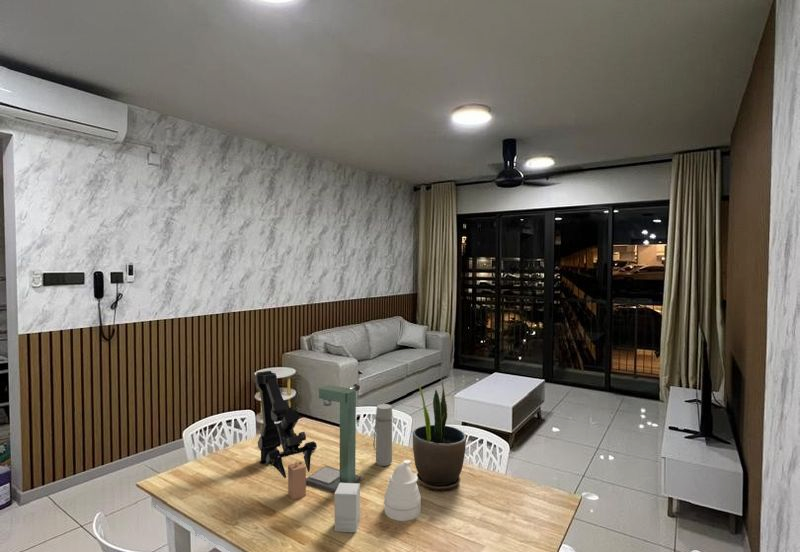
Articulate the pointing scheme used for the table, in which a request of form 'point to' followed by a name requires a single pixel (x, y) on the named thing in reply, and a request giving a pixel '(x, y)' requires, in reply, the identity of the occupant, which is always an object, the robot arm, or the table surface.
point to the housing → (297, 480)
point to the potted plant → (438, 449)
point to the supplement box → (347, 507)
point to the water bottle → (383, 434)
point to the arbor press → (346, 474)
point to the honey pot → (402, 494)
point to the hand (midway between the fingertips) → (297, 474)
